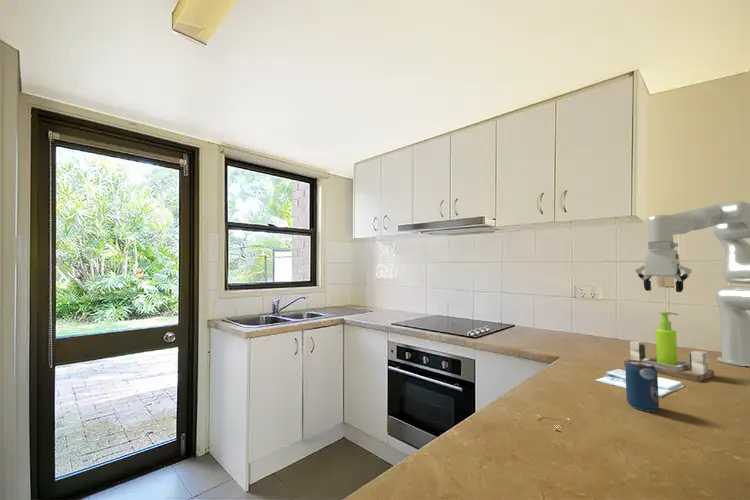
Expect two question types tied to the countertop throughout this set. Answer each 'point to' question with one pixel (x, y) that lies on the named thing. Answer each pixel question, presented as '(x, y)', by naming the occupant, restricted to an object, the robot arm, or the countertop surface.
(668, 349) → the soap dispenser
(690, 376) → the rail
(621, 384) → the folded white towel
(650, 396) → the soda can
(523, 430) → the countertop surface
